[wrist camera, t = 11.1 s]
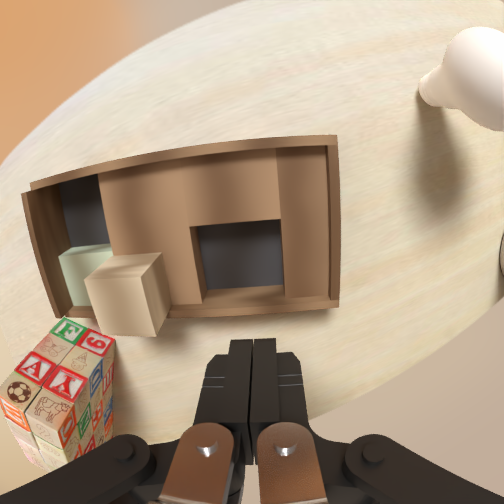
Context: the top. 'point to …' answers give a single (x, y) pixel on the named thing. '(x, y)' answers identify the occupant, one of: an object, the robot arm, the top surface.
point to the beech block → (130, 294)
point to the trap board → (199, 225)
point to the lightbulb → (470, 77)
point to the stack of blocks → (61, 396)
